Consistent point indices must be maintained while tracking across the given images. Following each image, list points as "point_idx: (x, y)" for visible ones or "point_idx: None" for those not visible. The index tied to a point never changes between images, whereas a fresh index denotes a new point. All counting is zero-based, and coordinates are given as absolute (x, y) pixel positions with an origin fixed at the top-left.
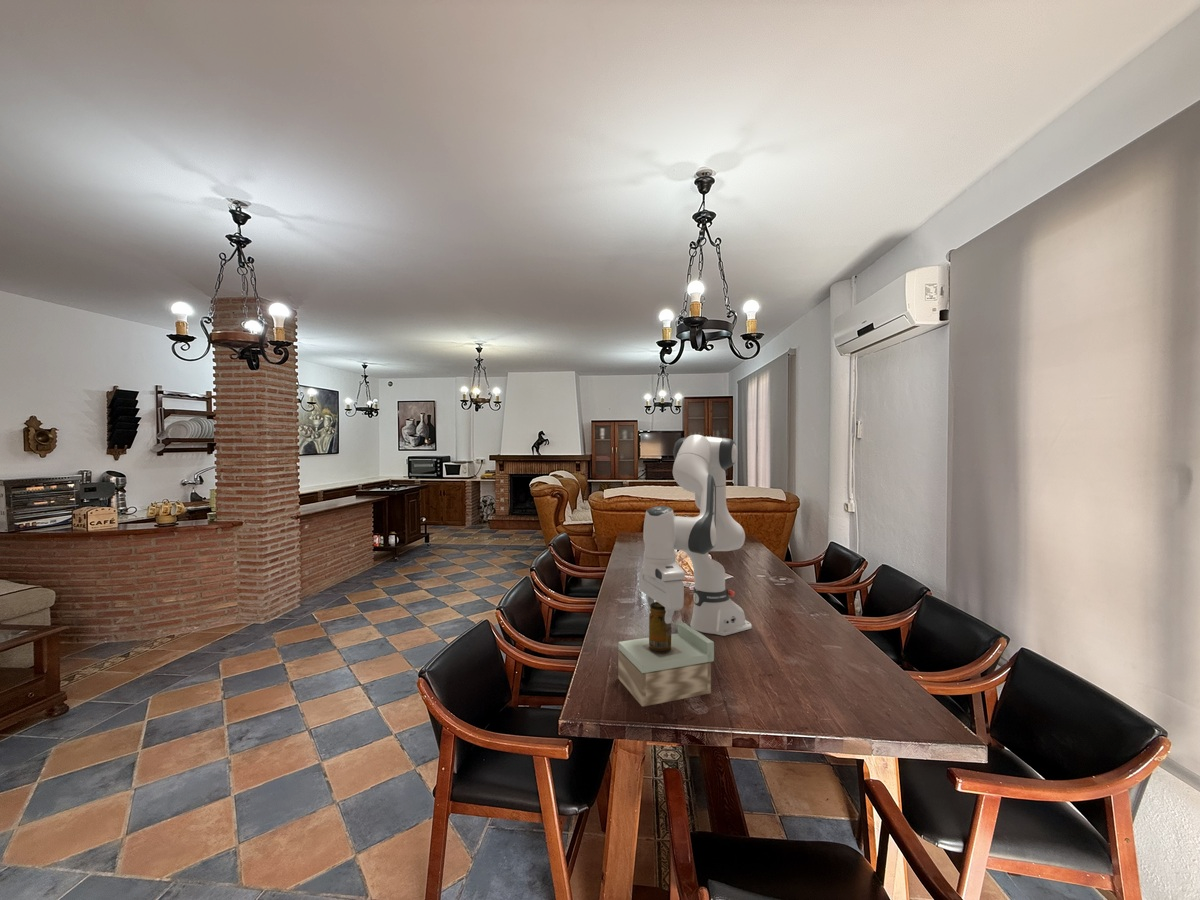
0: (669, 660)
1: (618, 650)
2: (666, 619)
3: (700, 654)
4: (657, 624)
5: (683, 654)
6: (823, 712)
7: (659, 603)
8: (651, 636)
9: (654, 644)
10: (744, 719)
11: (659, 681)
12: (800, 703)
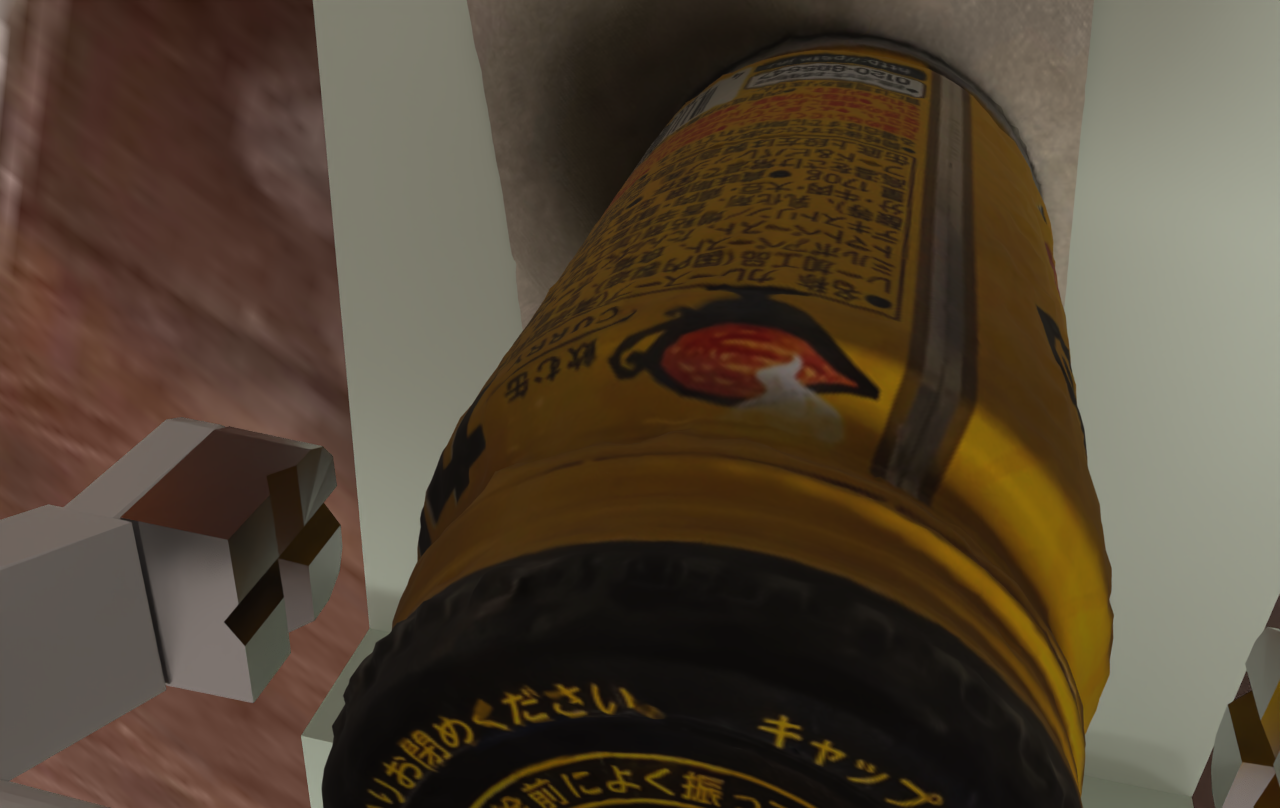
0: (332, 84)
1: None
2: (119, 482)
3: (398, 569)
4: (544, 311)
5: (466, 396)
6: (108, 786)
7: (23, 790)
8: (788, 114)
9: (719, 91)
10: (104, 359)
11: None
12: (221, 776)
